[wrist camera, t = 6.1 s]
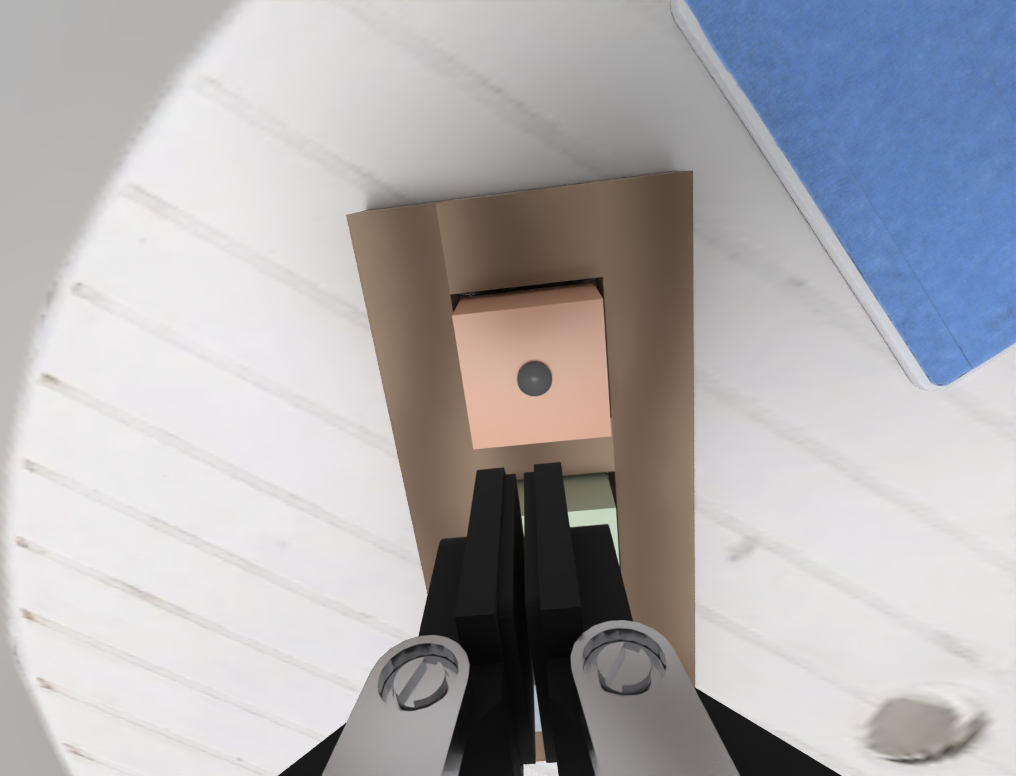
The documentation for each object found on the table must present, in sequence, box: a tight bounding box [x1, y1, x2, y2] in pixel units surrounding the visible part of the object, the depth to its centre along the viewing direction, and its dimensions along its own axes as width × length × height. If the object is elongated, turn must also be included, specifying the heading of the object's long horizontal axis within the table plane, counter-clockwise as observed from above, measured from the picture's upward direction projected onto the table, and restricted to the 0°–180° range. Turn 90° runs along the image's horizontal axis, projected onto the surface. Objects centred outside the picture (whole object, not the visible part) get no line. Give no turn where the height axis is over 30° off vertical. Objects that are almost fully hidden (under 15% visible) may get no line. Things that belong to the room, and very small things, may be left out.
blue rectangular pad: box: [670, 0, 1016, 391], centre depth 20 cm, size 19×13×1 cm, turn 40°
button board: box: [346, 171, 695, 761], centre depth 25 cm, size 12×28×2 cm, turn 7°
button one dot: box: [452, 282, 611, 449], centre depth 21 cm, size 5×5×3 cm
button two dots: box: [517, 472, 619, 562], centre depth 23 cm, size 5×5×3 cm
